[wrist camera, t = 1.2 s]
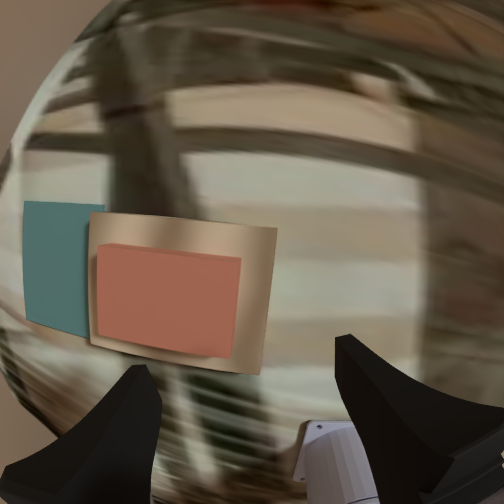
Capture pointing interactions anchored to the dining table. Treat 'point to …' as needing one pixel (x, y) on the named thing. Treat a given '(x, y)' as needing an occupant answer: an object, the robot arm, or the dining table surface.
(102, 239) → the block
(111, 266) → the pink rubber eraser
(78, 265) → the mat
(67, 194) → the dining table surface
